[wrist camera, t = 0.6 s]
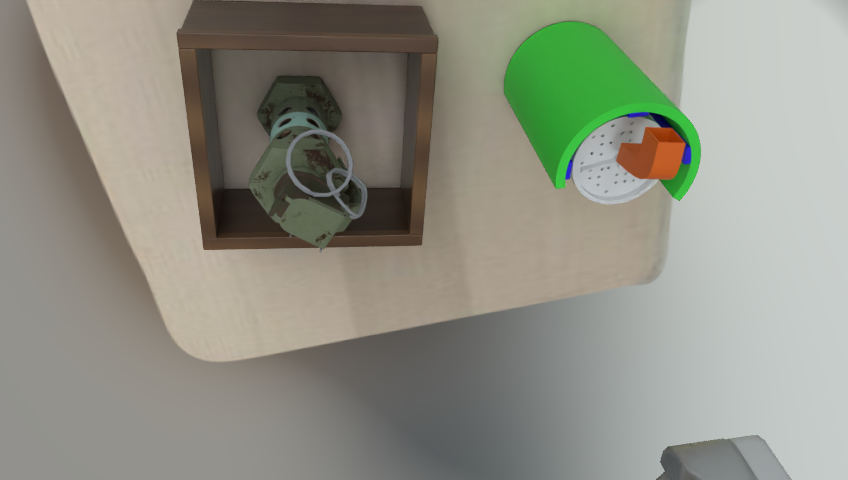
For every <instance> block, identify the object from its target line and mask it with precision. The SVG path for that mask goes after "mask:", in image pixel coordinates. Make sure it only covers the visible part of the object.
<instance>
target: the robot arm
mask: <svg viewBox="0 0 848 480" xmlns="http://www.w3.org/2000/svg"><path fill="white" fill-rule="evenodd" d="M660 462H661V464H662V466H663V468H664V470H665V472H664V473H663V474H662V475H661V476H660V477H658V478H657V479H656V480H791V478H790V477H789V475H788V474H787V472H786V471H785V470H784V468H783V466H782V465H781V464H780V462H779V461H778V459H777V458H776V456H775V455H774V453H773V452H772V450H771V449H770V447H769V446H768V445H767V443H766V442H765V440H764V439H762V438H760V437H759V436H758V435H752V436H745V437H738V438H732V439H717V440H710V441H703V442H697V443H689V444H682V445H676V446H669V447H667V448H666V449H665V450H664V451H663V454H662V457H661V461H660Z"/></svg>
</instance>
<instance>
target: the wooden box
mask: <svg viewBox="0 0 848 480" xmlns="http://www.w3.org/2000/svg"><path fill="white" fill-rule="evenodd" d="M177 40H178V47H179V56H180V64H181V72H182V80H183V88H184V96H185V104H186V112H187V120H188V128H189V136H190V144H191V152H192V160H193V168H194V176H195V184H196V192H197V200H198V208H199V216H200V224H201V232H202V240H203V248H204V250H223V249H271V248H319V247H318V246H316V245H313V244H311V243H309V242H307V241H305V240H303V239H301V238H299V237H296V236H294V235H292V236H291V237H290V233H288V232H286V231H285V230H283V228H282V227H281V226H280V223H276V222H275V221H274V220H273V219H272V218H271V217H270V216H269V215H268V214H267V212H266V211H265V209H264V208H263V207H262V205H261V204H260V203H259V201H258V200H257V199H256V197H255V196H254V194H253V193H252V191H251V189H230V190H224V180H223V170H222V160H221V150H220V140H219V130H218V120H217V110H216V100H215V90H214V80H213V70H212V60H211V50H210V49H242V50H293V51H345V52H396V53H408V66H407V83H406V100H405V118H404V135H403V152H402V169H401V188H367V202H366V207H365V210H364V212H363V214H362V216H360V217H359V218H357V219H352V221H351V222H350V223H349V225H348V226H347V228H346V229H345V230H344V231H342V232H336V233H335V234H334V236H333V237H332V239H331V240H330V241H329V243H328V244H327V246H326V247H367V246H414V245H422V237H423V224H424V211H425V199H426V187H427V174H428V162H429V150H430V137H431V125H432V113H433V100H434V88H435V76H436V63H437V51H438V37H437V35H434V33H433V31H432V29H431V26H430V24H429V22H428V20H427V17H426V15H425V13H424V11H423V8H422V7H421V6H393V5H358V4H324V3H290V2H256V1H222V0H193V3H192V5H191V7H190V10H189V12H188V14H187V17H186V19H185V21H184V24H183V26H182V28H181V29H178V31H177ZM358 189H359V190H360V192H361V189H360V188H358ZM361 194H362V192H361ZM357 213H358V212H357ZM266 214H267V215H266Z"/></svg>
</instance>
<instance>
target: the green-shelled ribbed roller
mask: <svg viewBox="0 0 848 480" xmlns="http://www.w3.org/2000/svg"><path fill="white" fill-rule="evenodd" d="M504 94H505V96H506V98H507V100H508V102H509V103H510V105H511V107H512V109H513V111H514V113H515V115H516V116H517V118H518V120H519V122H520V124H521V126H522V127H523V129H524V131H525V133H526V135H527V137H528V138H529V140H530V142H531V144H532V146H533V148H534V149H535V151H536V153H537V155H538V157H539V159H540V161H541V162H542V164H543V166H544V168H545V170H546V172H547V173H548V175H549V177H550V179H551V181H552V183H553V184H554V186H555V188H556V189H559V188H565V180H566V179H570V177H571V178H572V180H573V182H574V184H575V185H576V187H577V189H578V190H579V191H580V193H581V194H582V195H583V196H585V197H586V198H588V199H589V200H591V201H594V202H596V203H601V204H619V203H624V202H627V201H630V200H632V199H635V198H637V197H639V196H640V195H642V194H644V193H645V192H646V191H648V190H649V189H650V188H651V187H652V186H653V185H654V184H655V183H656V182H657V181H658V180H660V181H661V182H662V184H663V185H664V186H665V188H666V189H667V190H668V191H669V193H670V194H671V195H672V197H673V198H675V199H677V200H679V201H680V200H681V199H682V197H683V196H684V195H685V194H686V192H687V191H688V189H689V188H690V186H691V184H692V183H693V181H694V179H695V176H696V174H697V171H698V168H699V163H700V157H701V148H700V140H699V137H698V134H697V131H696V129H695V128H694V126H693V124H692V123H691V122H690V120H689V119H688V118H687V117H686V116H685V115H684V114H683V113H682V112H681V111H680V110H679V109H678V108H677V107H676V106H675V105H674V104H673V103H672V102H671V101H670V100H669V99H668V98H667V97H666V96H665V95H664V94H663V93H662V92H661V90H660V89H659V88H658V87H657V86H656V85H655V84H654V83H653V82H652V81H651V80H650V79H649V78H648V77H647V76H646V75H645V74H644V73H643V72H642V71H641V70H640V69H639V68H638V67H637V66H636V65H635V64H634V63H633V62H632V61H631V60H630V59H629V58H628V57H627V56H626V55H625V53H624V52H623V51H622V50H621V49H620V48H619V47H618V46H617V45H616V44H615V43H614V42H613V41H612V40H611V39H610V38H609V37H608V36H607V35H606V34H605V33H604V32H602V31H601V30H600V29H598V28H596V27H594V26H592V25H589V24H586V23H582V22H562V23H557V24H553V25H550V26H548V27H545V28H543V29H541V30H539V31H538V32H536V33H535V34H533V35H532V36H530V37H529V38H528V39H527V40H526V41H525V42H524V43H523V44H522V45H521V46H520V47H519V48H518V50H517V51H516V52H515V54H514V55H513V57H512V59H511V61H510V63H509V65H508V68H507V71H506V75H505V80H504Z"/></svg>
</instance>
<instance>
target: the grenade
mask: <svg viewBox="0 0 848 480" xmlns="http://www.w3.org/2000/svg"><path fill="white" fill-rule="evenodd" d="M257 117H258V119H259V121H260V122H261V124H262V126H263V127H264V129H265V130H266V132H267V133H268V134H269V136H270V145H269V146H268V147H267V149H266V151H265V152H264V154H263V156H262V157H261V159H260V160H259V162H258V164H257V165H256V167H255V169H254V171H253V173H252V174H251V176H250V179H249V188H250V189H251V191H252V193H253V194H254V196H255V197H256V199H257V200H258V201H259V203H260V204H261V205H262V207H263V208H264V209H265V211H266V212H267V214H268V215H269V216H270V217H271V218H272V219H273V220H274V221H275V222H276V223H280V226H281V227H282V228H283V230H285V231H286V232H288V233H290V237H291V236H292V235H294V236H296V237H299V238H301V239H303V240H305V241H307V242H309V243H311V244H313V245H316V246H318V247H320V252H321V251H322V248H323V249H324V248H325V247H326V246H327V244H328V243H329V241H330V240H331V239H332V237H333V236H334V234H335V233H336V232H342V231H344V230H345V229H346V228H347V226H348V225H349V223H350V222H351V221H352V219H357V218H359V217H360V216H362V214H363V212H364V210H365V207H366V202H367V188H366V186H365V184H364V183H363V182H362V181H361V180H360V179H359V178H358V177H356V176H355V175H354V174H352V172H353V160H352V156H351V153H350V150H349V149H348V147H347V146H346V144H345V143H344V141H343V140H342V139H340V138H339V137H338V136H336V135H335V134H334V133H333V132H334V130H335V129H336V127H337V126H338V124H339V122H340V120H341V118H342V116H341V111H340V109H339V107H338V105H337V103H336V102H335V100H334V98H333V97H332V95H331V93H330V92H329V90H328V89H327V87H326V85H325V84H324V82H323V81H322V79H321V78H317V77H300V76H284V77H277V79H276V80H275V82H274V84H273V85H272V87H271V89H270V90H269V92H268V94H267V95H266V97H265V99H264V100H263V102H262V104H261V106H260V108H259V110H258V115H257ZM329 138H332V139H334V140H335V141H336V142H337V143H338V144H339V145H341V146H342V148H343V150H344V152H345V154H346V155H347V160H348V166H349V167H348V170H347V168H346V167H345V165H344V163H343V162H342V160H341V158H340V157H339V158H338V159H336V157H335V156H334V154H333V153H332V151H331V149H330V148H329ZM355 183H356V184H357V185H358V186H359V187H360V189H361V192H362V194H361V192H360V190H359V189H358V187H357V185H356V184H355ZM357 212H358V213H357ZM267 214H266V215H267Z"/></svg>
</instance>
